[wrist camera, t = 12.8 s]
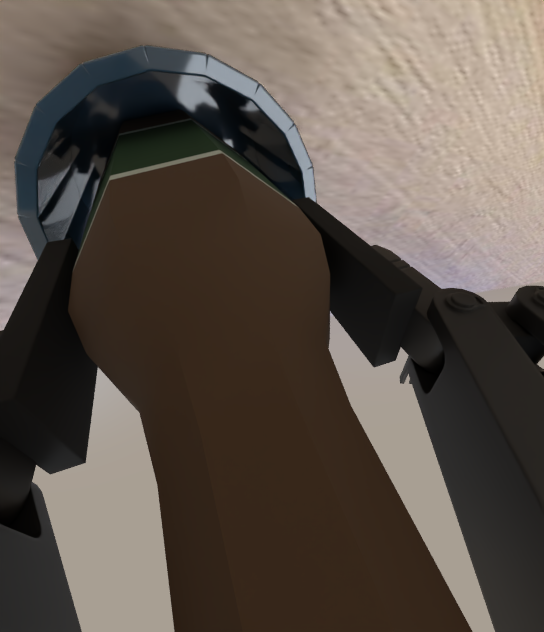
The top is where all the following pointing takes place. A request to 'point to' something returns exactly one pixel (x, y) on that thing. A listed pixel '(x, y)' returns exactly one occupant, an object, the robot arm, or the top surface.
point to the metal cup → (136, 102)
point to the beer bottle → (243, 397)
